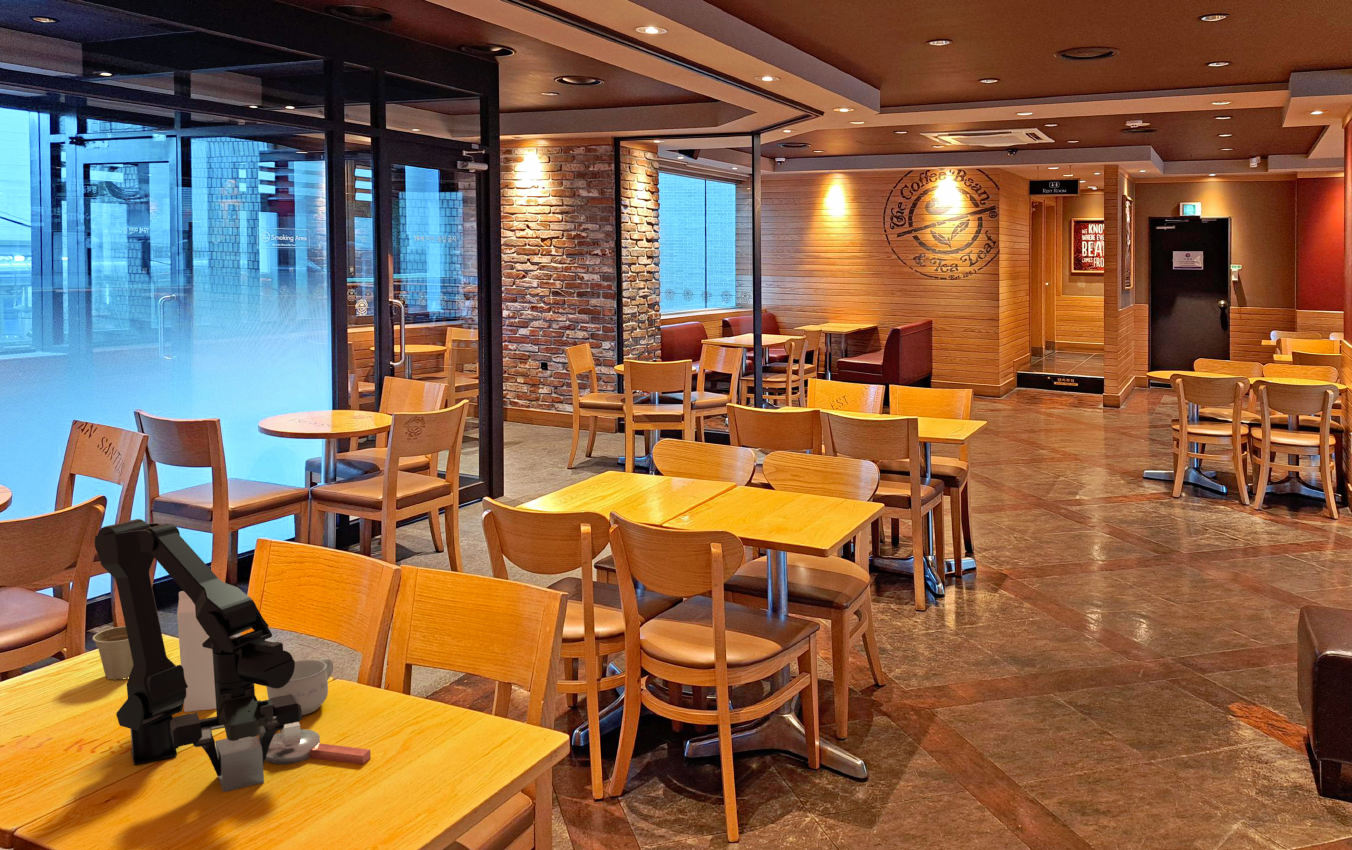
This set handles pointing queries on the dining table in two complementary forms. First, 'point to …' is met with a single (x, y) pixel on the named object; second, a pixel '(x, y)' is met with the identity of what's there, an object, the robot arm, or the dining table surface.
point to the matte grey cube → (240, 763)
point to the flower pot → (114, 652)
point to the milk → (195, 658)
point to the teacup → (307, 684)
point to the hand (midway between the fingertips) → (240, 770)
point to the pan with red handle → (309, 748)
